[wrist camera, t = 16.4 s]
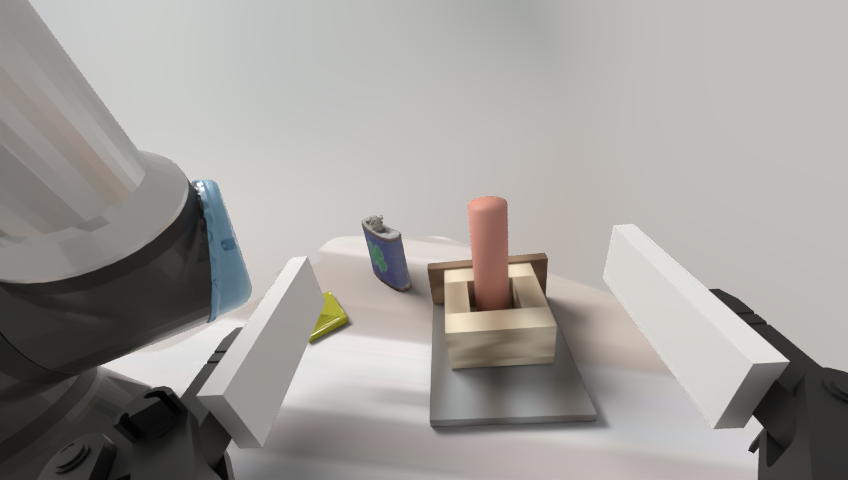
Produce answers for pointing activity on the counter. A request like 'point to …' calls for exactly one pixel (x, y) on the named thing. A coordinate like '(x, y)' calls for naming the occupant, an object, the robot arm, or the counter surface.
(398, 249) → the flask
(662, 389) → the counter surface
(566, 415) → the grey fixture base
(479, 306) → the dowel
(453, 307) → the socket block
